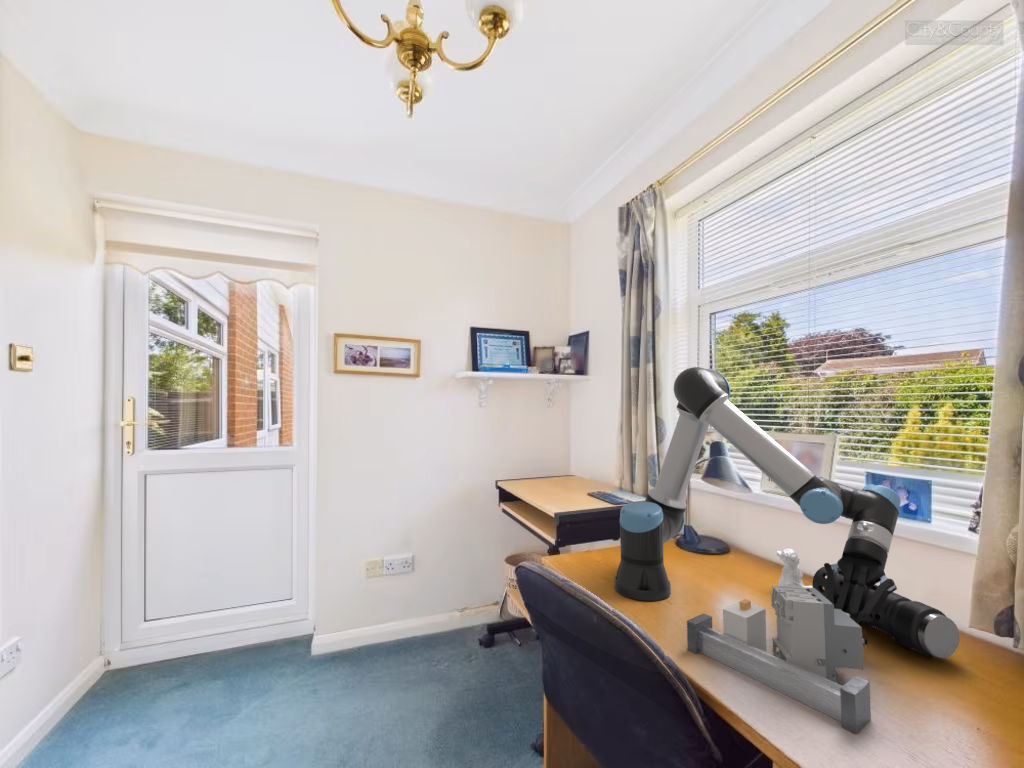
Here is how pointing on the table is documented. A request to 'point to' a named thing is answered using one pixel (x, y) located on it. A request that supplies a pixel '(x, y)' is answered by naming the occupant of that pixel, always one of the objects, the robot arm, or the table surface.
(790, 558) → the white creature statuette
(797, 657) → the circuit breaker
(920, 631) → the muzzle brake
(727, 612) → the mounted module
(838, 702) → the din rail
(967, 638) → the table surface
